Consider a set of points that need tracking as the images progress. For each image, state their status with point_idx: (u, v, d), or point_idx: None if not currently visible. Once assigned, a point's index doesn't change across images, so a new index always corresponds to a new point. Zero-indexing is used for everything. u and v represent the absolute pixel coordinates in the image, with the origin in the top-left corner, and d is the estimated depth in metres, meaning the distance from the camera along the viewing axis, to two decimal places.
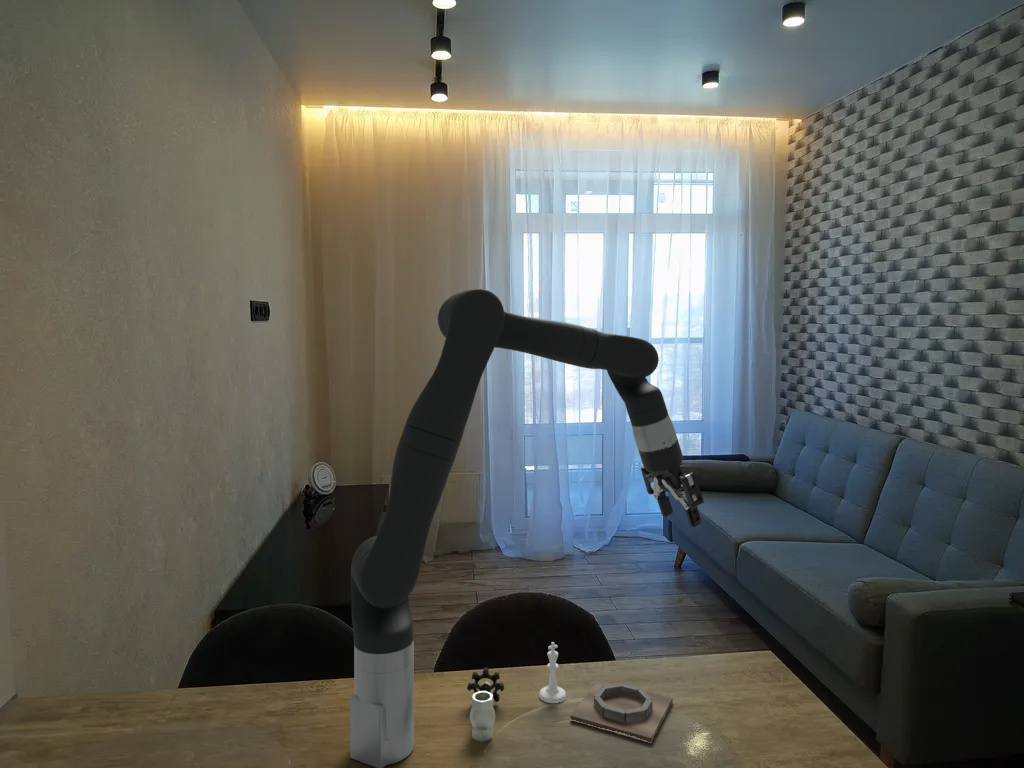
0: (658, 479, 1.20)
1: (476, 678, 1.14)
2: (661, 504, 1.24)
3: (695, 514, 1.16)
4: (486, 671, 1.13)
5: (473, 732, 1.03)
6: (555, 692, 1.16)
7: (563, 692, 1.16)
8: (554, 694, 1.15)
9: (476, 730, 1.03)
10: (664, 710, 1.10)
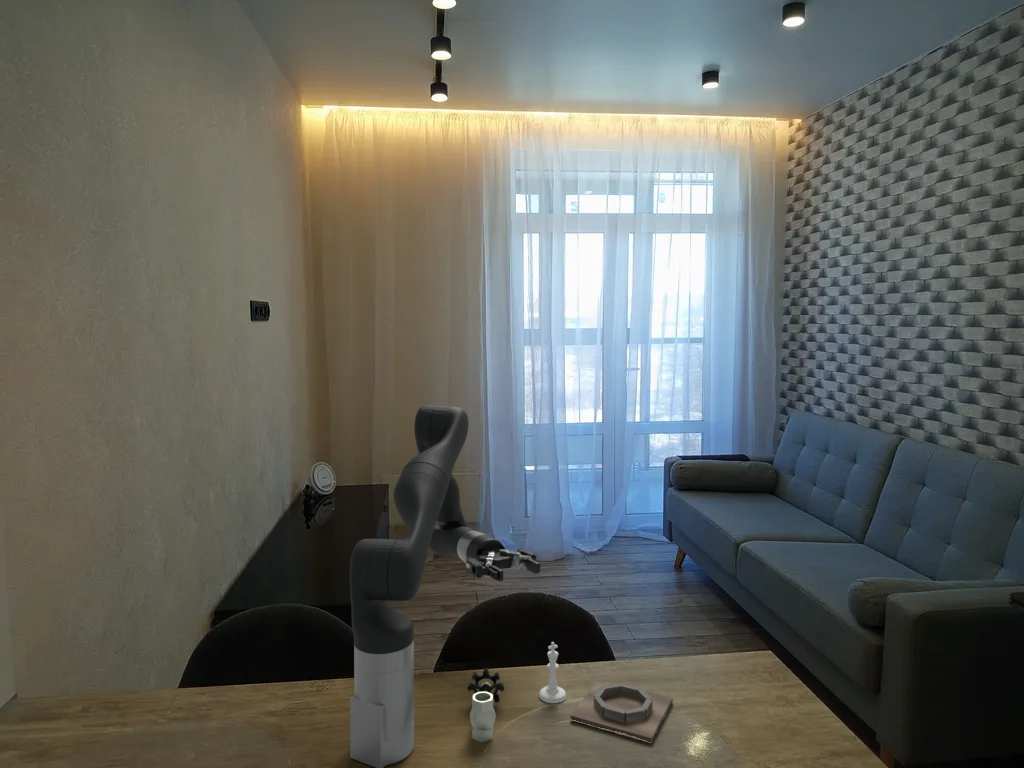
0: None
1: (476, 678, 1.14)
2: None
3: None
4: (486, 671, 1.13)
5: (473, 733, 1.03)
6: (555, 692, 1.16)
7: (563, 692, 1.16)
8: (554, 694, 1.15)
9: (476, 731, 1.03)
10: (664, 710, 1.10)
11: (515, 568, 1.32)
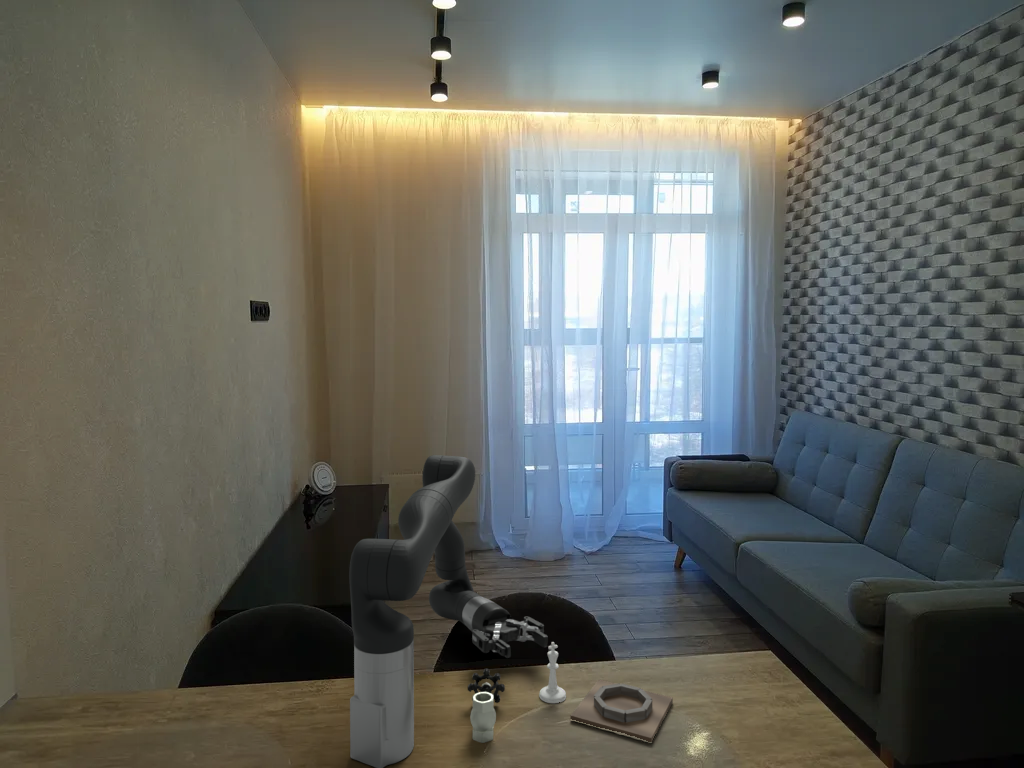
0: None
1: (477, 679, 1.13)
2: None
3: None
4: (487, 672, 1.13)
5: (474, 733, 1.03)
6: (555, 692, 1.16)
7: (563, 692, 1.16)
8: (554, 694, 1.15)
9: (477, 731, 1.03)
10: (664, 710, 1.10)
11: (522, 639, 1.30)
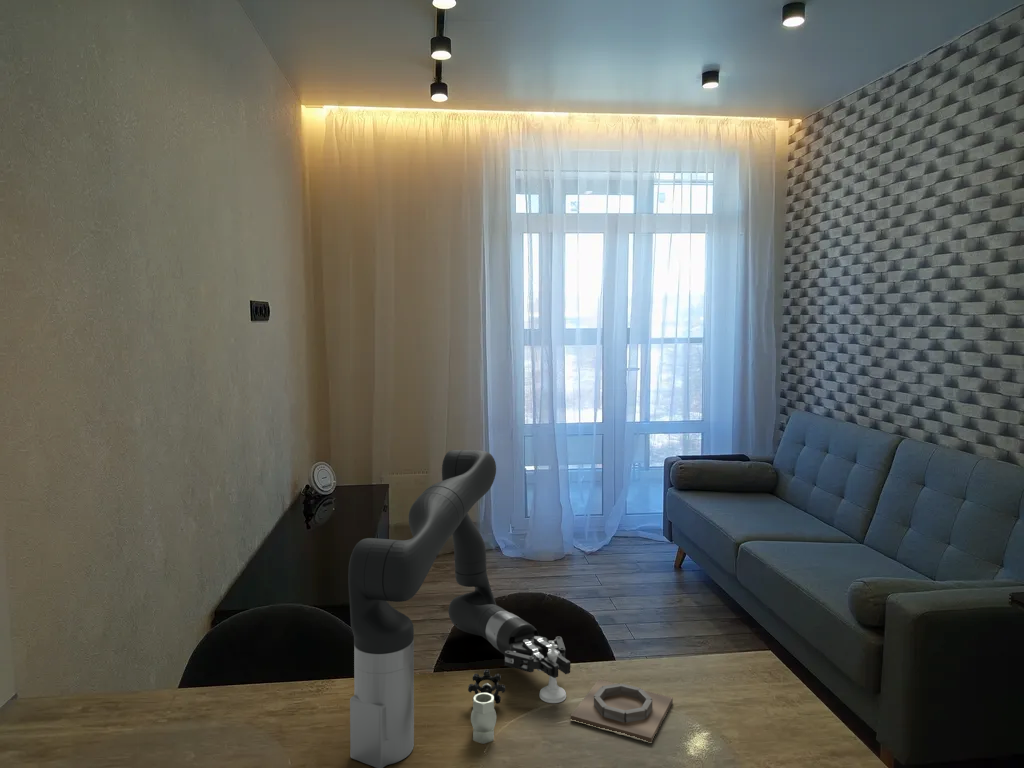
0: None
1: (477, 680, 1.13)
2: None
3: None
4: (487, 672, 1.13)
5: (474, 734, 1.03)
6: (555, 692, 1.16)
7: (563, 692, 1.16)
8: (554, 694, 1.15)
9: (477, 732, 1.03)
10: (664, 710, 1.10)
11: None
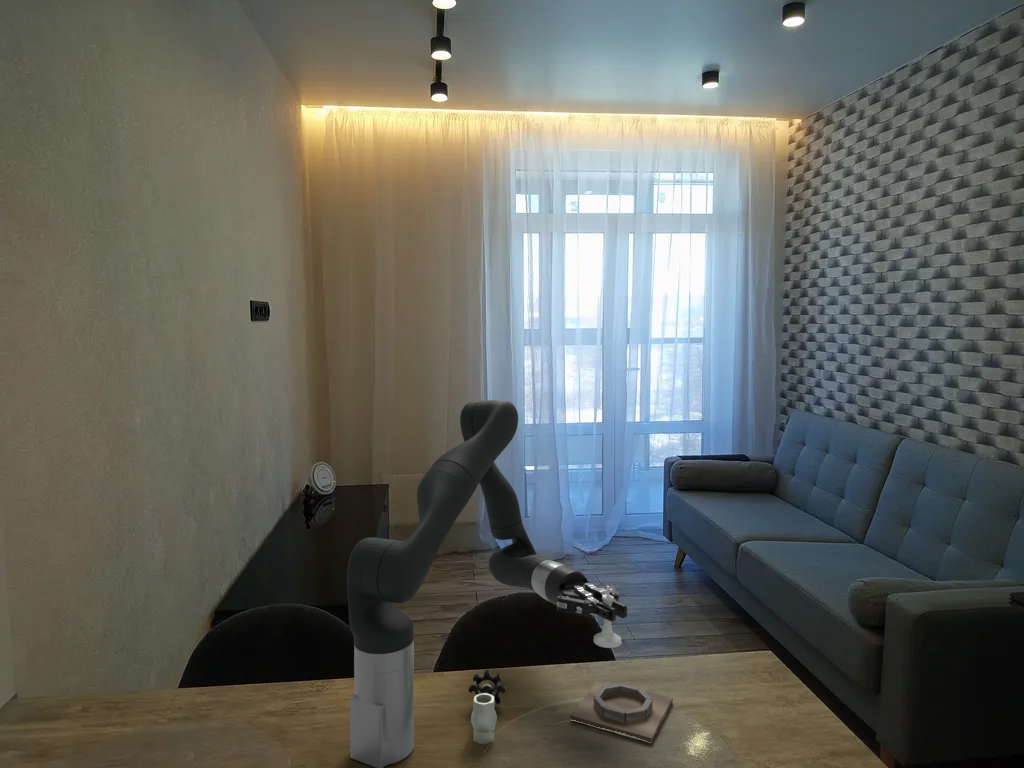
0: None
1: (477, 680, 1.13)
2: None
3: None
4: (487, 673, 1.12)
5: (474, 735, 1.03)
6: (611, 637, 1.12)
7: (618, 637, 1.12)
8: (610, 639, 1.11)
9: (477, 733, 1.02)
10: (664, 710, 1.10)
11: None
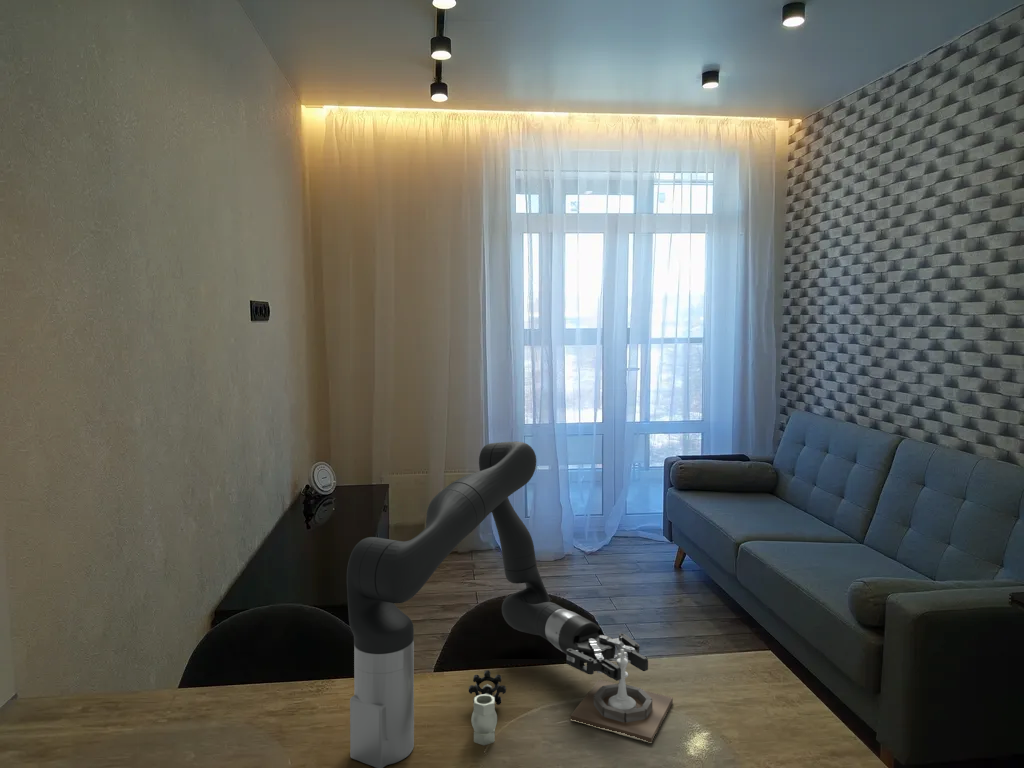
0: None
1: (478, 681, 1.13)
2: None
3: None
4: (488, 674, 1.12)
5: (475, 736, 1.02)
6: (625, 701, 1.10)
7: (633, 701, 1.11)
8: (625, 703, 1.10)
9: (478, 734, 1.02)
10: (664, 710, 1.10)
11: (616, 660, 1.16)
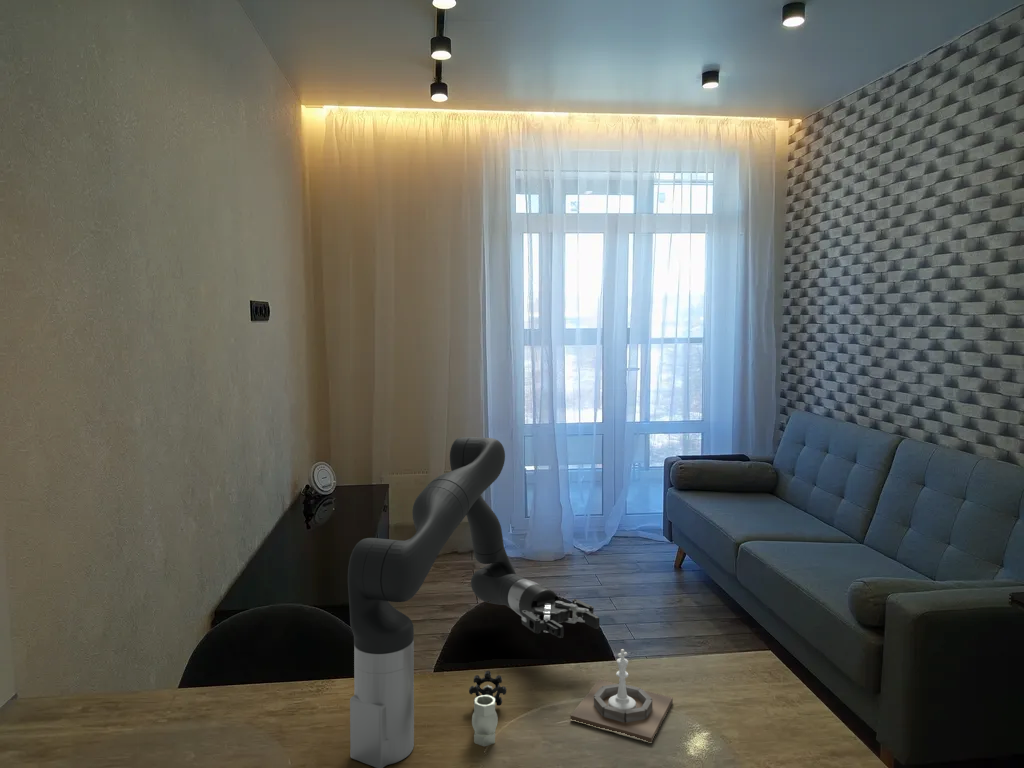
0: None
1: (478, 681, 1.12)
2: None
3: None
4: (488, 674, 1.12)
5: (475, 736, 1.02)
6: (625, 701, 1.10)
7: (633, 701, 1.11)
8: (625, 703, 1.10)
9: (478, 734, 1.02)
10: (664, 710, 1.10)
11: (572, 621, 1.27)
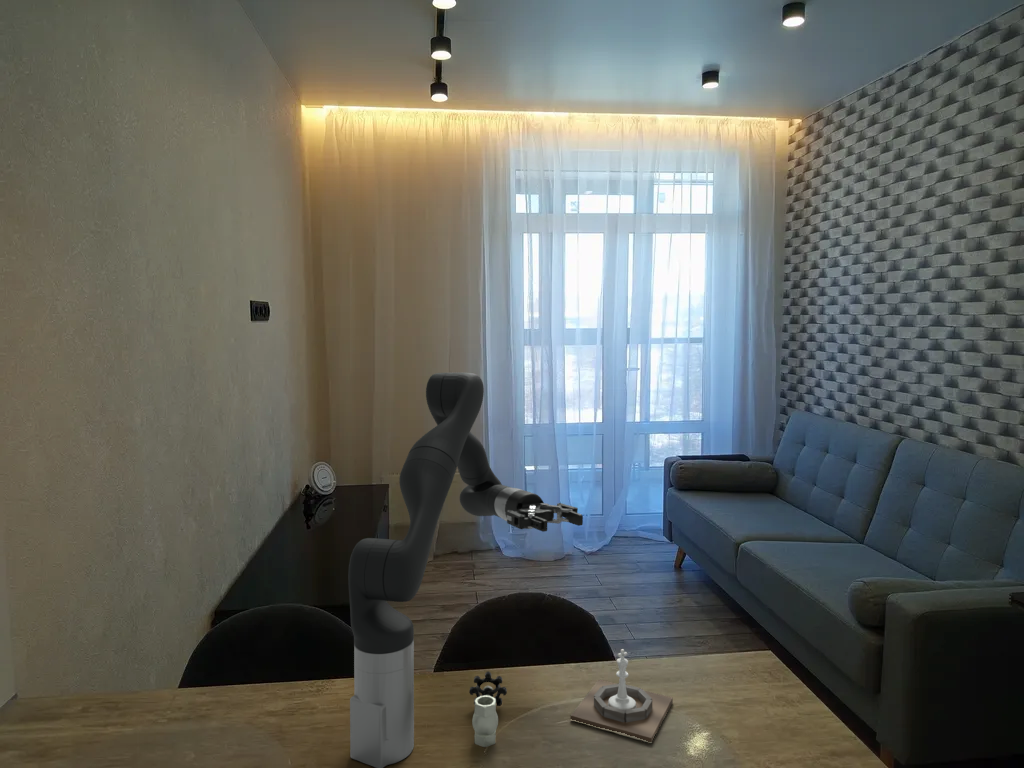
0: None
1: (478, 682, 1.12)
2: None
3: None
4: (488, 675, 1.12)
5: (476, 737, 1.02)
6: (625, 701, 1.10)
7: (633, 701, 1.11)
8: (625, 703, 1.10)
9: (479, 735, 1.02)
10: (664, 710, 1.10)
11: (556, 521, 1.30)
